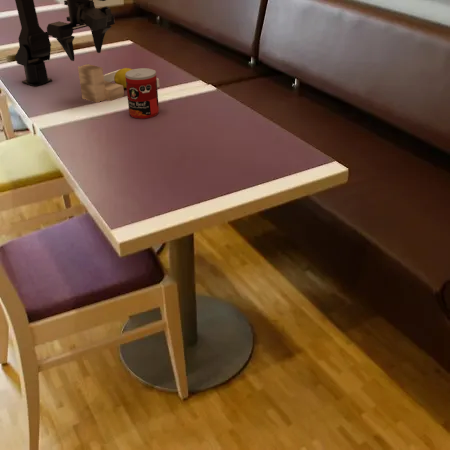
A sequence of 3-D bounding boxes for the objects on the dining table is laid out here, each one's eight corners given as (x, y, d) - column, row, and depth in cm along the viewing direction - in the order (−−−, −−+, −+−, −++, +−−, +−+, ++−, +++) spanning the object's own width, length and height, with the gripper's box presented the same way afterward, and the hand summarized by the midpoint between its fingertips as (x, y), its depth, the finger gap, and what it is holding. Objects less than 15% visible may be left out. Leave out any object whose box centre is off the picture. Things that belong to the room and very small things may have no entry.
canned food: (123, 116, 160) (119, 75, 155) (140, 106, 166) (137, 66, 161) (147, 121, 157) (144, 79, 152) (164, 110, 163) (161, 70, 158)
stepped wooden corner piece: (77, 97, 174) (73, 65, 169) (100, 89, 179) (96, 58, 175) (101, 104, 168) (97, 72, 164) (124, 95, 174) (120, 64, 169)
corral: (91, 87, 180) (90, 79, 179) (121, 77, 189) (120, 69, 187) (129, 98, 172) (128, 89, 171) (159, 86, 180) (158, 78, 179)
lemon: (118, 95, 178) (138, 87, 183) (124, 81, 174) (144, 74, 179) (106, 82, 179) (126, 75, 184) (111, 67, 175) (131, 61, 180)
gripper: (69, 6, 148) (78, 70, 156) (126, -7, 160) (131, 53, 168) (40, 1, 154) (50, 63, 162) (97, -11, 166) (104, 47, 174)
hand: (85, 56), depth 166 cm, fingers open, 9 cm apart
